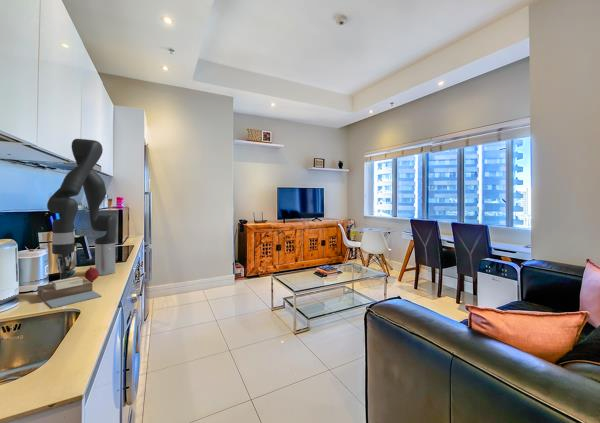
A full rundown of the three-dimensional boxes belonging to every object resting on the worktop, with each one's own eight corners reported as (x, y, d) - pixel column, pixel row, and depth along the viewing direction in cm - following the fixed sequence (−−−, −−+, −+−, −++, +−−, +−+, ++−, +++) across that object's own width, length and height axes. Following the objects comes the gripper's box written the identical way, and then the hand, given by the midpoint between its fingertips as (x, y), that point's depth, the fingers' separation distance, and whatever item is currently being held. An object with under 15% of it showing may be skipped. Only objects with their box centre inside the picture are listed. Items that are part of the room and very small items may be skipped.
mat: (45, 302, 108) (45, 301, 108) (92, 291, 121) (92, 290, 121) (52, 308, 102) (52, 307, 102) (101, 296, 116) (101, 295, 115)
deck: (37, 295, 115) (37, 286, 115) (83, 286, 128) (83, 277, 128) (45, 302, 108) (44, 292, 108) (92, 291, 121) (92, 282, 121)
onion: (101, 280, 138) (101, 265, 137) (92, 283, 132) (92, 267, 132) (91, 279, 138) (91, 264, 138) (81, 283, 133) (81, 267, 132)
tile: (52, 287, 115) (52, 281, 115) (78, 282, 122) (78, 276, 122) (56, 289, 111) (56, 284, 111) (82, 284, 119) (82, 279, 118)
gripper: (78, 243, 117) (79, 281, 118) (69, 239, 125) (70, 275, 126) (56, 245, 111) (56, 285, 112) (48, 241, 119) (48, 279, 120)
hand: (63, 280), depth 119 cm, fingers closed
